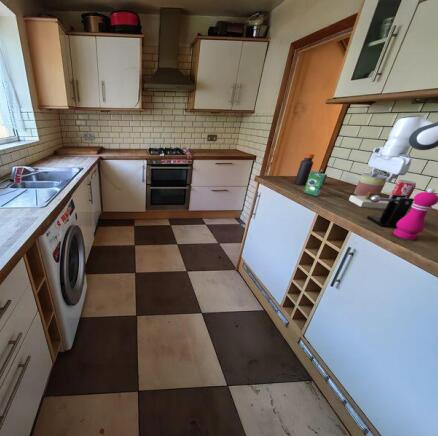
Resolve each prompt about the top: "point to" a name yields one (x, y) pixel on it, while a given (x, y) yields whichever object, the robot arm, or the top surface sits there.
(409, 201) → the latch bracket
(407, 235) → the pepper mill
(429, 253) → the top surface
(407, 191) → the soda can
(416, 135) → the robot arm
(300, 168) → the bottle
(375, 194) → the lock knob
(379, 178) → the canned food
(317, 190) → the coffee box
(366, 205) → the plate
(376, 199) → the metal spoon
